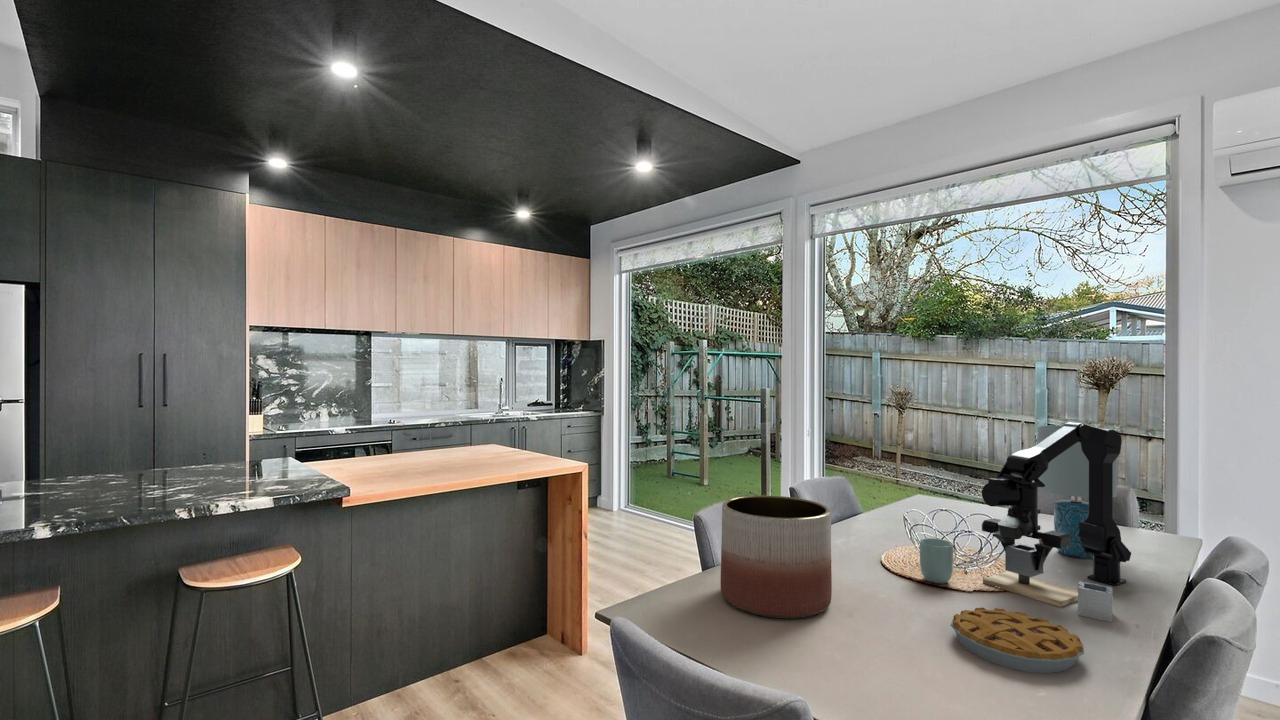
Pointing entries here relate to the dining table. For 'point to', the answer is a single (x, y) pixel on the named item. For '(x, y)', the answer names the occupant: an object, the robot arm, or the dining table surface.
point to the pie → (1017, 640)
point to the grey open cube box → (1095, 601)
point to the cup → (936, 559)
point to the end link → (1021, 560)
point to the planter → (776, 555)
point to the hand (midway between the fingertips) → (1024, 566)
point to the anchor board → (1033, 588)
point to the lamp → (1069, 490)
